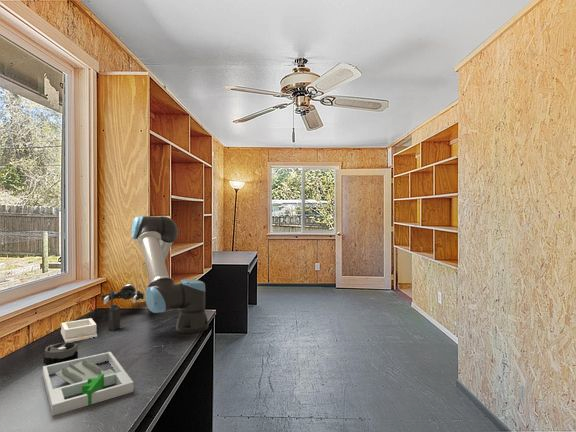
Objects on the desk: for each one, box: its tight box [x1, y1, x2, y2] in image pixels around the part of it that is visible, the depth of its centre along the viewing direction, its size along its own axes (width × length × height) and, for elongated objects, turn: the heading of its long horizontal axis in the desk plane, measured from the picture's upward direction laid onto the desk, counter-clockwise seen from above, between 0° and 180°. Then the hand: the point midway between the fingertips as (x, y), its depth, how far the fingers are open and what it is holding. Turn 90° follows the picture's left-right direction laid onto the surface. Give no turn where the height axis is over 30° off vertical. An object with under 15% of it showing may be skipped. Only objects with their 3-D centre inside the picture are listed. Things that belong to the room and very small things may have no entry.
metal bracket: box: [55, 359, 116, 385], centre depth 116 cm, size 14×6×15 cm
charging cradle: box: [60, 317, 98, 343], centre depth 157 cm, size 16×12×5 cm
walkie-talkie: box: [107, 287, 121, 331], centre depth 165 cm, size 5×3×20 cm
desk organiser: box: [42, 351, 134, 417], centre depth 113 cm, size 30×21×3 cm
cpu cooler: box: [43, 341, 79, 366], centre depth 129 cm, size 10×6×10 cm
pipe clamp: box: [81, 374, 105, 406], centre depth 105 cm, size 10×4×4 cm, turn 9°
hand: (119, 300), depth 174 cm, fingers open, 13 cm apart
